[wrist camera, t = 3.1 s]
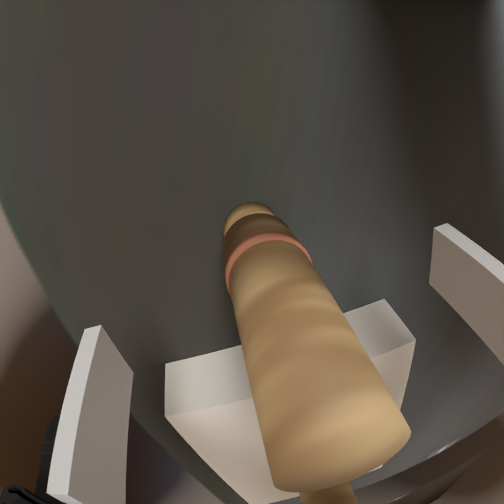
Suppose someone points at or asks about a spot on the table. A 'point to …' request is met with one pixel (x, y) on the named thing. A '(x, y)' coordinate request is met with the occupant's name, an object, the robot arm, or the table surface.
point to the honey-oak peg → (304, 361)
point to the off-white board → (243, 409)
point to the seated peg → (330, 495)
